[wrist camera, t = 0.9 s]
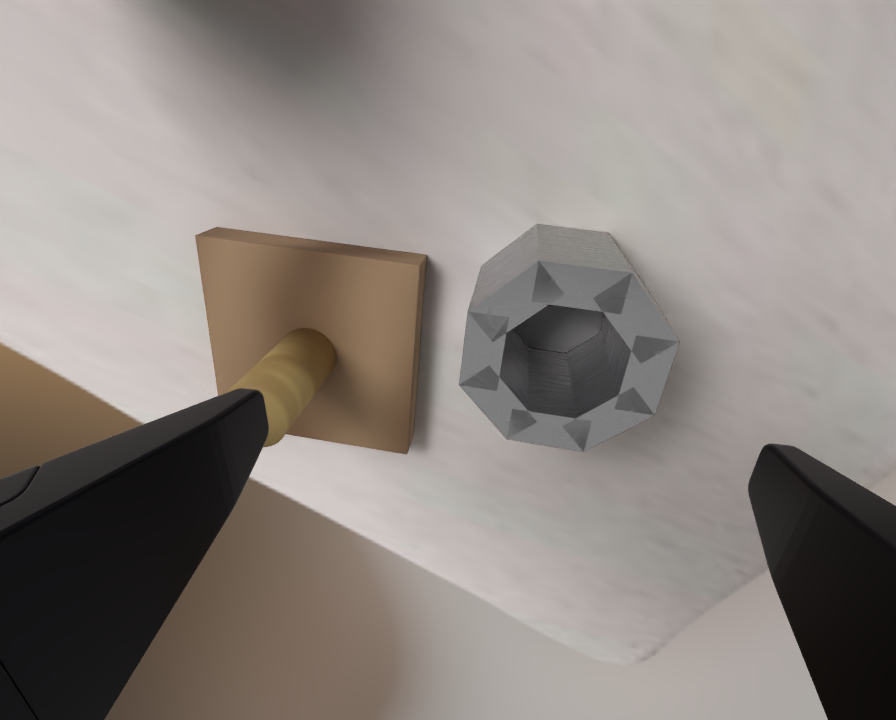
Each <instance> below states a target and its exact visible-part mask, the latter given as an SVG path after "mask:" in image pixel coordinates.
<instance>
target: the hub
mask: <svg viewBox="0 0 896 720" xmlns="http://www.w3.org/2000/svg"><path fill="white" fill-rule="evenodd" d="M549 304H550V305H557V306H564V307H571V308H579V309H586V310H593V311H600V312H603V313H604V314H605V316H604V319H603V323H602V327H601V331H600V333H599V334H598V335H596V336H594V337H593V338H591V339H589V340H588V341H586V342H585V343H583V344H581V345H580V346H578V347H576V348H575V349H573V350H571V351H570V352H568V353H560V352H553V351H546V350H539V349H532V348H528V346H527V345H526V344H525V343H524V342H523V340H522V339H521V338H520V337H519V335H518V334H517V333H516V332H515V330H514V329H513V328H515V327H516V326H518V325H519V324H521V323H522V322H524V321H525V320H527V319H528V318H530V317H531V316H533V315H534V314H536V313H537V312H539V311H540V310H542V309H543V308H545V307H546V306H548V305H549ZM679 342H680V341H679V339H678V338H677V336H676V334H675V333H674V331H673V330H672V328H671V326H670V325H669V323H668V322H667V320H666V318H665V317H664V315H663V313H662V312H661V310H660V309H659V307H658V305H657V304H656V302H655V301H654V299H653V297H652V296H651V294H650V293H649V291H648V289H647V288H646V286H645V285H644V284H643V282H642V281H641V279H640V278H639V276H638V275H637V273H636V272H635V270H634V269H633V268H632V266H631V265H630V263H629V262H628V260H627V259H626V257H625V256H624V254H623V253H622V252H621V250H620V249H619V247H618V246H617V244H616V243H615V241H614V240H613V239H612V237H611V236H610V234H609V233H604V232H596V231H588V230H580V229H572V228H564V227H556V226H548V225H540V224H537V225H535V226H534V227H533V228H531V229H530V230H529V231H527V232H526V233H525V234H523V235H522V236H521V237H519V238H518V239H517V240H515V241H514V242H513V243H511V244H510V245H509V246H507V247H506V248H505V249H503V250H502V251H501V252H499V253H498V254H497V255H495V256H494V257H493V258H491V259H490V260H489V261H487V262H486V263H485V264H483V265H482V266H481V269H480V272H479V276H478V279H477V282H476V286H475V289H474V292H473V295H472V299H471V302H470V305H469V309H468V313H467V321H466V330H465V338H464V347H463V355H462V364H461V372H460V381H459V386H460V387H461V388H462V389H463V390H464V391H465V392H466V394H467V395H468V396H469V397H470V398H471V399H472V400H473V402H474V403H475V404H476V405H477V406H478V407H479V408H480V409H481V411H482V412H483V413H484V414H485V415H486V416H487V417H488V419H489V420H490V421H491V422H492V423H493V424H494V425H495V427H496V428H497V429H498V430H499V431H500V432H501V433H502V435H503V436H504V437H505V438H506V439H507V440H514V441H520V442H526V443H532V444H538V445H544V446H551V447H557V448H563V449H569V450H575V451H581V452H584V451H586V450H588V449H590V448H592V447H594V446H596V445H598V444H600V443H602V442H604V441H606V440H608V439H609V438H611V437H613V436H615V435H617V434H619V433H621V432H623V431H625V430H627V429H629V428H631V427H633V426H635V425H637V424H639V423H641V422H642V421H644V420H646V419H648V418H650V417H652V416H654V415H655V413H656V410H657V407H658V404H659V401H660V398H661V395H662V392H663V389H664V386H665V384H666V381H667V378H668V375H669V372H670V369H671V366H672V363H673V360H674V357H675V354H676V351H677V348H678V345H679Z"/></svg>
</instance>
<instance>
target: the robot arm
mask: <svg viewBox="0 0 896 720" xmlns="http://www.w3.org/2000/svg"><path fill="white" fill-rule="evenodd" d="M268 432H269V424H268V418H267V412H266V406H265V401H264V396H263V394H262V392H260V391H259V390H255V389H246V388H238V389H235V390H233V391H230V392H227V393H225V394H222V395H220V396H217V397H214V398H212V399H209V400H207V401H204V402H201V403H199V404H196V405H193V406H191V407H188V408H186V409H183V410H180V411H178V412H175V413H173V414H170V415H167V416H165V417H162V418H159V419H157V420H154V421H152V422H149V423H146V424H144V425H141V426H139V427H136V428H133V429H131V430H128V431H125V432H123V433H120V434H118V435H115V436H112V437H110V438H108V439H105V440H102V441H99V442H97V443H95V444H91V445H89V446H86V447H84V448H81V449H78V450H76V451H73V452H71V453H68V454H65V455H63V456H60V457H57V458H55V459H52V460H50V461H47V462H44V463H43V464H42V465H41V466H34V467H31V468H29V469H26V470H23V471H21V472H18V473H15V474H13V475H10V476H8V477H5V478H2V479H0V720H104V719H105V718H106V716H107V714H108V713H109V711H110V709H111V708H112V706H113V705H114V703H115V701H116V700H117V698H118V696H119V695H120V693H121V691H122V690H123V688H124V687H125V685H126V683H127V682H128V680H129V678H130V677H131V675H132V673H133V672H134V670H135V669H136V667H137V665H138V664H139V662H140V660H141V659H142V657H143V656H144V654H145V652H146V650H147V649H148V647H149V646H150V644H151V642H152V641H153V639H154V638H155V636H156V634H157V632H158V630H159V629H160V628H161V626H162V624H163V623H164V621H165V620H166V618H167V616H168V615H169V613H170V611H171V610H172V608H173V606H174V605H175V603H176V602H177V600H178V598H179V597H180V595H181V593H182V592H183V590H184V588H185V587H186V585H187V584H188V582H189V580H190V579H191V577H192V575H193V574H194V572H195V570H196V569H197V567H198V565H199V564H200V562H201V561H202V559H203V557H204V556H205V554H206V552H207V551H208V549H209V548H210V546H211V544H212V543H213V541H214V539H215V538H216V536H217V534H218V533H219V531H220V530H221V528H222V526H223V525H224V523H225V521H226V520H227V518H228V516H229V515H230V513H231V511H232V510H233V508H234V506H235V504H236V502H237V500H238V498H239V496H240V495H241V493H242V491H243V488H244V486H245V484H246V482H247V480H248V478H249V476H250V473H251V471H252V469H253V467H254V465H255V463H256V461H257V459H258V456H259V454H260V452H261V450H262V448H263V446H264V444H265V442H266V439H267V437H268ZM748 492H749V497H750V501H751V505H752V509H753V512H754V516H755V520H756V523H757V527H758V531H759V534H760V538H761V542H762V545H763V549H764V553H765V557H766V560H767V564H768V567H769V570H770V574H771V577H772V580H773V582H774V585H775V588H776V590H777V592H778V595H779V598H780V600H781V603H782V605H783V608H784V610H785V613H786V615H787V618H788V620H789V623H790V625H791V628H792V631H793V633H794V636H795V638H796V641H797V643H798V646H799V648H800V650H801V653H802V656H803V658H804V661H805V663H806V666H807V668H808V671H809V673H810V676H811V678H812V681H813V683H814V685H815V688H816V691H817V693H818V696H819V698H820V701H821V703H822V706H823V708H824V711H825V713H826V716H827V718H828V720H896V506H895V505H893V504H891V503H890V502H888V501H886V500H885V499H883V498H881V497H879V496H878V495H876V494H874V493H873V492H871V491H869V490H868V489H866V488H864V487H862V486H861V485H859V484H857V483H856V482H854V481H852V480H851V479H849V478H847V477H845V476H844V475H842V474H840V473H839V472H837V471H835V470H834V469H832V468H830V467H829V466H827V465H825V464H823V463H822V462H820V461H818V460H817V459H815V458H813V457H812V456H810V455H808V454H806V453H805V452H803V451H801V450H800V449H798V448H796V447H794V446H789V445H780V444H767V445H765V446H764V447H763V448H762V450H761V452H760V454H759V457H758V460H757V462H756V465H755V467H754V470H753V472H752V475H751V478H750V481H749V485H748Z"/></svg>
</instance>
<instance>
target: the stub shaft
mask: <svg viewBox="0 0 896 720" xmlns="http://www.w3.org/2000/svg"><path fill="white" fill-rule="evenodd" d="M195 237H196V244H197V251H198V258H199V265H200V272H201V279H202V286H203V293H204V300H205V306H206V313H207V320H208V327H209V334H210V341H211V348H212V355H213V362H214V369H215V376H216V383H217V390H218V396H220V395H222V394H225V393H227V392H230V391H233V390H235V389H238V388H246V389H255V390H259V391H260V392H262V394H263V396H264V401H265V406H266V412H267V418H268V424H269V432H268V437H267V439H266V442H265V444H264V446H263V447H268V446H272V445H274V444H276V443H278V442H279V441H280V440H281V439H282V438H283V437H284V435H285V434H289V435H295V436H301V437H307V438H313V439H318V440H324V441H330V442H336V443H342V444H348V445H354V446H360V447H366V448H372V449H378V450H384V451H390V452H396V453H402V454H407V453H408V450H409V447H410V444H411V441H412V439H413V436H414V423H415V410H416V396H417V382H418V369H419V355H420V341H421V327H422V314H423V300H424V286H425V273H426V259H427V255H423V254H416V253H408V252H401V251H393V250H386V249H378V248H370V247H363V246H355V245H348V244H340V243H333V242H325V241H317V240H310V239H302V238H295V237H287V236H280V235H272V234H265V233H257V232H249V231H242V230H234V229H227V228H219V227H215V228H213V229H210V230H208V231H205V232H203V233H200V234H198V235H195Z"/></svg>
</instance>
